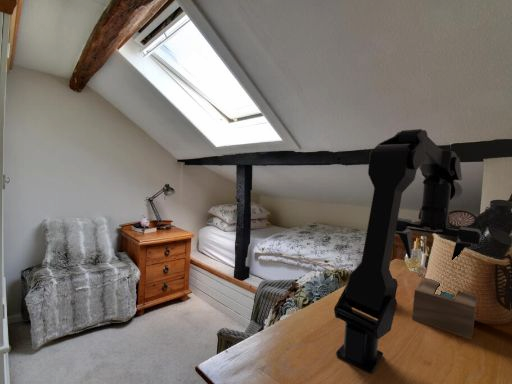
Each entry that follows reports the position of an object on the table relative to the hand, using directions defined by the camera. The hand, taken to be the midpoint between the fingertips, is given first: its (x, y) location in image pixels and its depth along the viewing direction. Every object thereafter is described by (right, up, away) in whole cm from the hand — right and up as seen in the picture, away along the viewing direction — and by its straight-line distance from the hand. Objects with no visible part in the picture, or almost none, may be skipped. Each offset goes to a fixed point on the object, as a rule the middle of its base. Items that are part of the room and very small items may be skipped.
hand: (429, 262), depth 70 cm
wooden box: (0, -12, -5) cm, 13 cm away
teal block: (0, -11, -6) cm, 13 cm away
